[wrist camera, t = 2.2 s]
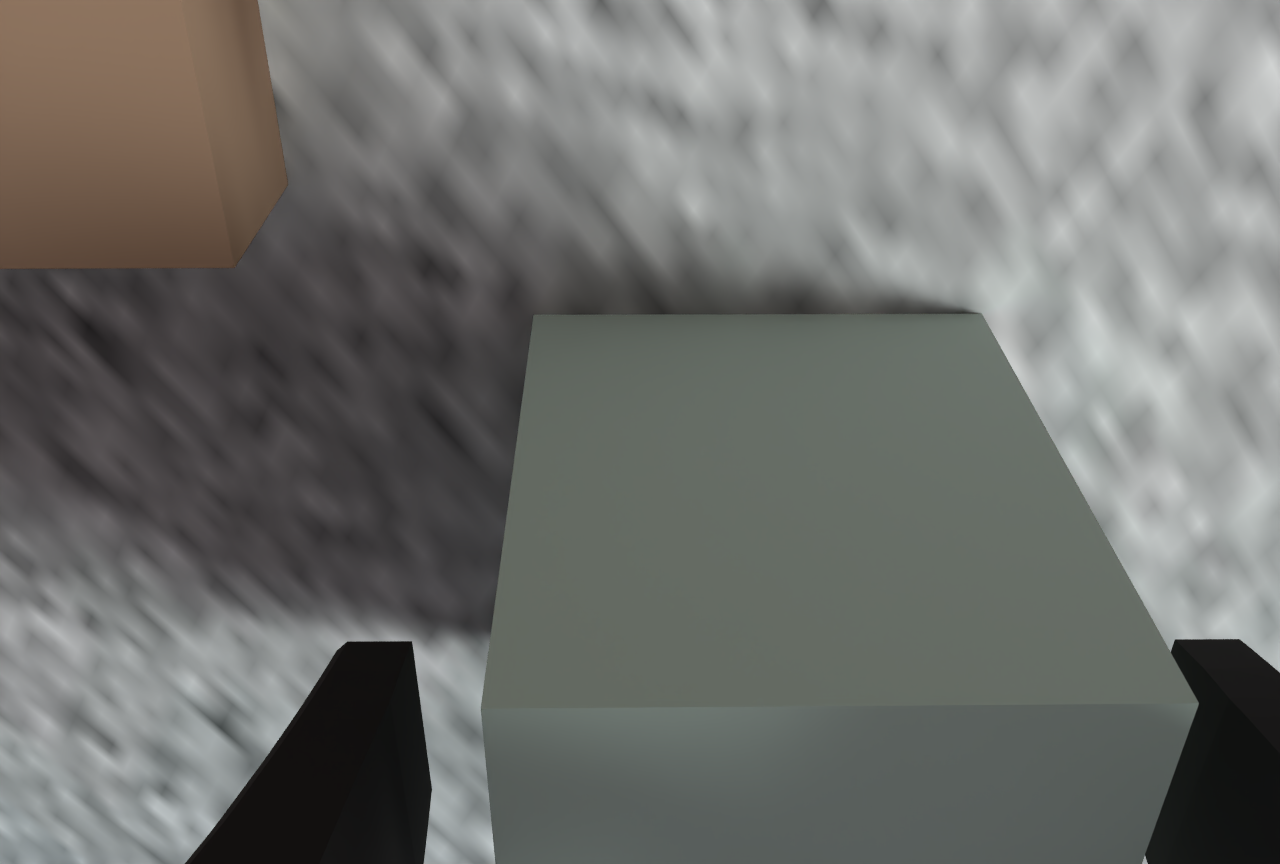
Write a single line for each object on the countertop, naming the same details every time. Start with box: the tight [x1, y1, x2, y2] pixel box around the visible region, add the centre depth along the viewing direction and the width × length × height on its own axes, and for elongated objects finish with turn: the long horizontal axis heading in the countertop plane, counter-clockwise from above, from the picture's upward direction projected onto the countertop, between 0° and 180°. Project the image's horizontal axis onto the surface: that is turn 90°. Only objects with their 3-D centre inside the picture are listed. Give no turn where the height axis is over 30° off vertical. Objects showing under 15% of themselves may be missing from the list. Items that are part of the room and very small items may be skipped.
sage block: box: [481, 314, 1199, 864], centre depth 12 cm, size 5×5×6 cm
